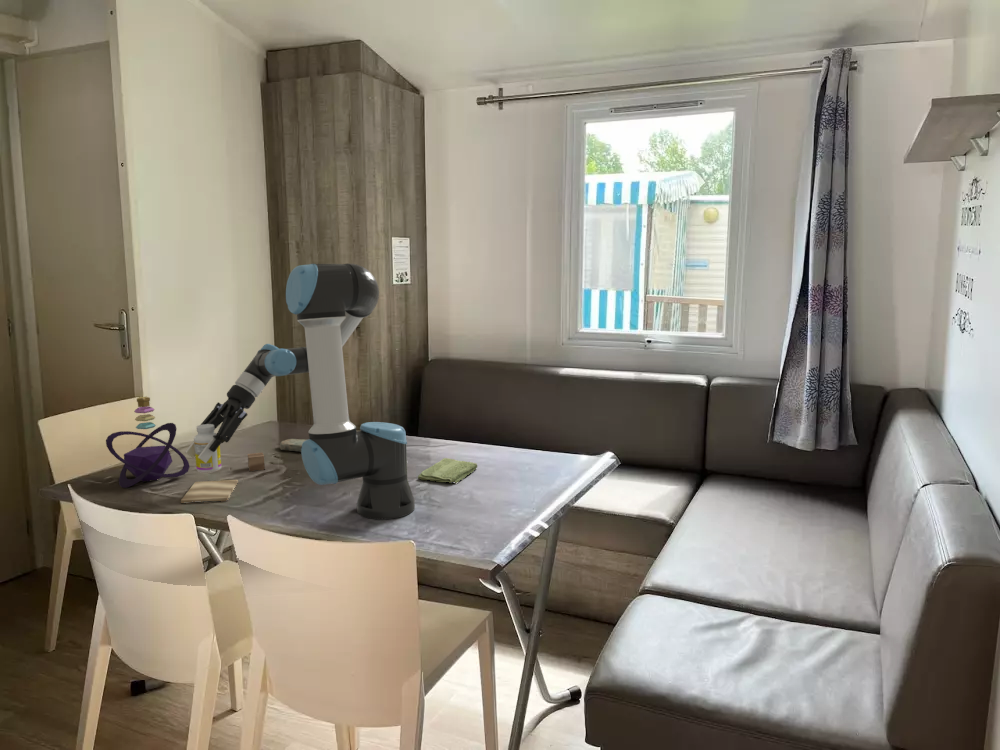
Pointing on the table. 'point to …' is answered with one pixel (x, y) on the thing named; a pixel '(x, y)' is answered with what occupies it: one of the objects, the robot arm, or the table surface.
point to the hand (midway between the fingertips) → (195, 457)
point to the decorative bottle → (147, 450)
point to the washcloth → (448, 471)
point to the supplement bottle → (200, 443)
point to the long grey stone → (292, 444)
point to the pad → (210, 491)
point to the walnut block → (256, 461)
